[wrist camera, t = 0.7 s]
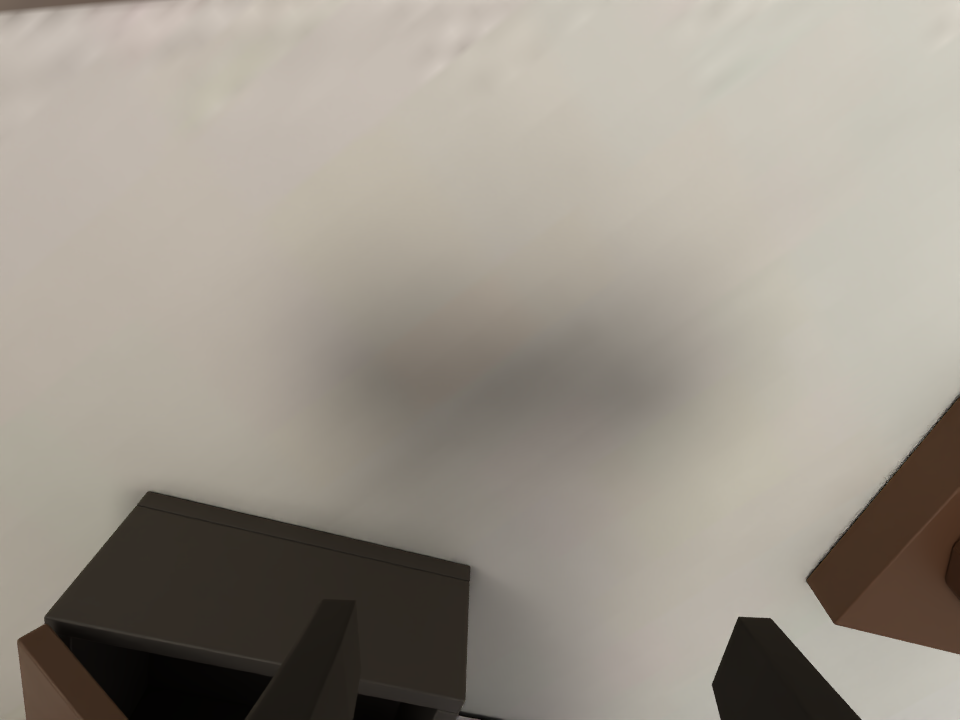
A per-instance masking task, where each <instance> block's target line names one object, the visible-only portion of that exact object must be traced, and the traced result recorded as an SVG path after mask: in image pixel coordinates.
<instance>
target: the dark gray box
mask: <svg viewBox="0 0 960 720" xmlns="http://www.w3.org/2000/svg"><path fill="white" fill-rule="evenodd" d="M469 581H470V566H466V565H462V564H457V563H453V562H449V561H445V560H440V559H436V558H432V557H427V556H423V555H419V554H414V553H410V552H406V551H402V550H397V549H393V548H389V547H384V546H380V545H376V544H371V543H367V542H363V541H359V540H354V539H350V538H346V537H341V536H337V535H333V534H328V533H324V532H320V531H316V530H311V529H307V528H303V527H298V526H294V525H290V524H286V523H281V522H277V521H273V520H268V519H264V518H260V517H255V516H251V515H247V514H243V513H238V512H234V511H230V510H225V509H221V508H217V507H212V506H208V505H204V504H200V503H195V502H191V501H187V500H182V499H178V498H174V497H169V496H165V495H161V494H157V493H152V492H147V493H146V494H145V496H144V497H143V498H142V499H141V500H140V502H139V503H138V504H137V506H136V507H135V508H134V509H133V511H132V512H131V513H130V514H129V515H128V517H127V518H126V519H125V520H124V521H123V523H122V524H121V525H120V526H119V527H118V529H117V530H116V531H115V532H114V533H113V535H112V536H111V537H110V538H109V539H108V541H107V542H106V543H105V544H104V545H103V547H102V548H101V549H100V550H99V551H98V553H97V554H96V555H95V556H94V558H93V559H92V560H91V561H90V562H89V564H88V565H87V566H86V567H85V568H84V570H83V571H82V572H81V573H80V574H79V576H78V577H77V578H76V579H75V580H74V582H73V583H72V584H71V585H70V586H69V588H68V589H67V590H66V591H65V592H64V594H63V595H62V596H61V597H60V598H59V600H58V601H57V602H56V603H55V604H54V606H53V607H52V608H51V609H50V610H49V612H48V613H47V614H46V615H45V617H44V621H45V624H48V625H49V626H50V627H51V628H52V629H53V631H54V632H55V633H56V634H57V635H58V637H59V638H60V639H61V640H62V641H63V642H64V644H65V645H66V646H67V647H68V648H69V650H70V651H71V652H72V653H73V654H74V655H75V657H76V658H77V659H78V660H79V661H80V663H81V664H82V665H83V666H84V667H85V668H86V670H87V671H88V672H89V673H90V674H91V676H92V677H93V678H94V679H95V680H96V682H97V683H98V684H99V685H100V686H101V687H102V689H103V690H104V691H105V692H106V693H107V695H108V696H109V697H110V698H111V699H112V700H113V702H114V703H115V704H116V705H117V706H118V708H119V709H120V710H121V711H122V712H123V713H124V715H125V716H126V717H127V718H128V719H129V720H245V718H246V717H247V715H248V714H249V712H250V711H251V709H252V708H253V707H254V705H255V704H256V702H257V701H258V699H259V698H260V696H261V695H262V693H263V692H264V690H265V689H266V687H267V686H268V684H269V683H270V681H271V680H272V678H273V677H274V675H275V674H276V672H277V671H278V669H279V668H280V666H281V664H282V663H283V661H284V660H285V658H286V657H287V655H288V653H289V652H290V650H291V649H292V647H293V645H294V644H295V642H296V640H297V639H298V637H299V635H300V634H301V632H302V630H303V629H304V627H305V625H306V623H307V622H308V620H309V618H310V616H311V615H312V613H313V611H314V609H315V607H316V605H317V603H318V602H320V601H321V600H323V599H335V600H356V608H357V621H358V634H359V647H360V659H361V675H360V681H359V687H358V693H357V699H356V705H355V711H354V717H353V720H456V719H457V717H458V714H459V712H460V710H461V708H462V706H463V704H464V702H465V695H466V666H467V637H468V608H469Z"/></svg>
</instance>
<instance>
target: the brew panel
mask: <svg viewBox="0 0 960 720" xmlns="http://www.w3.org/2000/svg"><path fill="white" fill-rule="evenodd" d="M807 583H808V584H809V586H810V587H811V589H812V590H813V592H814V594H815V595H816V597H817V598H818V600H819V601H820V603H821V604H822V606H823V608H824V609H825V611H826V612H827V614H828V615H829V617H830V618H831V620H832V622H833V623H834V624H835V625H840V626H844V627H848V628H852V629H856V630H860V631H865V632H869V633H873V634H877V635H881V636H885V637H890V638H894V639H898V640H902V641H906V642H910V643H915V644H919V645H923V646H927V647H931V648H935V649H940V650H944V651H948V652H952V653H956V654H960V397H959V398H958V399H957V401H956V402H955V403H954V404H953V405H952V407H951V408H950V409H949V410H948V411H947V412H946V414H945V415H944V416H943V417H942V418H941V420H940V421H939V422H938V423H937V424H936V426H935V427H934V428H933V429H932V430H931V432H930V433H929V434H928V435H927V436H926V438H925V439H924V440H923V441H922V442H921V444H920V445H919V446H918V447H917V448H916V450H915V451H914V452H913V453H912V454H911V456H910V457H909V458H908V459H907V460H906V462H905V463H904V464H903V465H902V466H901V468H900V469H899V470H898V471H897V472H896V474H895V475H894V476H893V477H892V478H891V480H890V481H889V482H888V483H887V484H886V486H885V487H884V488H883V489H882V490H881V491H880V493H879V494H878V495H877V496H876V497H875V499H874V500H873V501H872V502H871V503H870V505H869V506H868V507H867V508H866V509H865V511H864V512H863V513H862V514H861V515H860V517H859V518H858V519H857V520H856V521H855V523H854V524H853V525H852V526H851V527H850V529H849V530H848V531H847V532H846V533H845V535H844V536H843V537H842V538H841V539H840V541H839V542H838V543H837V544H836V545H835V547H834V548H833V549H832V550H831V551H830V553H829V554H828V555H827V556H826V557H825V559H824V560H823V561H822V562H821V563H820V565H819V566H818V567H817V568H816V569H815V571H814V572H813V573H812V574H811V575H810V576H809V578H808V579H807Z"/></svg>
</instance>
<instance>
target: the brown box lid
mask: <svg viewBox="0 0 960 720" xmlns="http://www.w3.org/2000/svg"><path fill="white" fill-rule="evenodd" d="M17 645H18V653H19V661H20V670H21V678H22V687H23V695H24V704H25V712H26V720H129V719H128V718H127V717H126V716H125V715H124V713H123V712H122V711H121V710H120V709H119V708H118V706H117V705H116V704H115V703H114V702H113V700H112V699H111V698H110V697H109V696H108V695H107V693H106V692H105V691H104V690H103V689H102V687H101V686H100V685H99V684H98V683H97V682H96V680H95V679H94V678H93V677H92V676H91V674H90V673H89V672H88V671H87V670H86V668H85V667H84V666H83V665H82V664H81V663H80V661H79V660H78V659H77V658H76V657H75V655H74V654H73V653H72V652H71V651H70V650H69V648H68V647H67V646H66V645H65V644H64V642H63V641H62V640H61V639H60V638H59V637H58V635H57V634H56V633H55V632H54V631H53V629H52V628H51V627H50V626H49V625H48V624H44V625H42V626H40V627H39V628H37V629H35V630H33V631H32V632H30V633H28V634H26V635H24V636H23V637H21V638H19V639H18V640H17Z"/></svg>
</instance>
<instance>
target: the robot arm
mask: <svg viewBox="0 0 960 720" xmlns="http://www.w3.org/2000/svg"><path fill="white" fill-rule="evenodd" d="M360 675H361V659H360V647H359V634H358V621H357V608H356V600H335V599H323V600H321V601H320V602H318V603H317V605H316V607H315V609H314V611H313V613H312V615H311V616H310V618H309V620H308V622H307V623H306V625H305V627H304V629H303V630H302V632H301V634H300V635H299V637H298V639H297V640H296V642H295V644H294V645H293V647H292V649H291V650H290V652H289V653H288V655H287V657H286V658H285V660H284V661H283V663H282V664H281V666H280V668H279V669H278V671H277V672H276V674H275V675H274V677H273V678H272V680H271V681H270V683H269V684H268V686H267V687H266V689H265V690H264V692H263V693H262V695H261V696H260V698H259V699H258V701H257V702H256V704H255V705H254V707H253V708H252V709H251V711H250V712H249V714H248V715H247V717H246V718H245V720H353V717H354V711H355V705H356V699H357V693H358V687H359V681H360ZM712 687H713V691H714V695H715V699H716V703H717V706H718V710H719V714H720V718H721V720H861V718H860V717H859V716H858V715H857V714H856V713H855V712H854V711H853V710H852V709H851V708H850V706H849V705H848V704H847V703H846V702H845V701H844V700H843V699H842V698H841V697H840V695H839V694H838V693H837V692H836V691H835V690H834V689H833V688H832V686H831V685H830V684H829V683H828V682H827V681H826V680H825V679H824V678H823V676H822V675H821V674H820V673H819V672H818V671H817V670H816V669H815V667H814V666H813V665H812V664H811V663H810V662H809V661H808V660H807V658H806V657H805V656H804V655H803V654H802V653H801V652H800V651H799V649H798V648H797V647H796V646H795V645H794V644H793V643H792V642H791V640H790V639H789V638H788V637H787V636H786V635H785V634H784V633H783V631H782V630H781V629H780V628H779V627H778V626H777V625H776V624H775V623H774V621H773V620H772V619H771V618H753V617H738V619H737V622H736V624H735V627H734V630H733V632H732V635H731V637H730V640H729V642H728V645H727V647H726V650H725V653H724V655H723V658H722V660H721V663H720V665H719V668H718V670H717V673H716V675H715V678H714V681H713V683H712ZM456 720H479V719H474V718H469V717H464V716H459V715H458V717H457V719H456Z"/></svg>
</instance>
